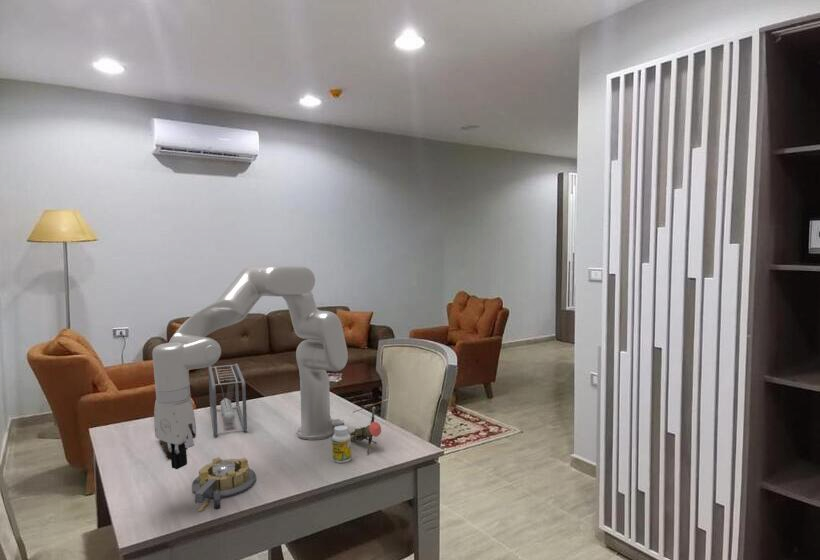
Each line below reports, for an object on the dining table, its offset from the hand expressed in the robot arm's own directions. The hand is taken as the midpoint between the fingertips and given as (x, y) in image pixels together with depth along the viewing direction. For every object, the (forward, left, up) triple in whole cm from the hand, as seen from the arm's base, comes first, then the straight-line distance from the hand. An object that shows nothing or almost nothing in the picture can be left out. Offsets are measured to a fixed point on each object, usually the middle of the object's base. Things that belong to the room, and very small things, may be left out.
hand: (179, 466), depth 127 cm
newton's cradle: (-5, -58, -10) cm, 59 cm away
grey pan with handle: (-8, -4, -8) cm, 12 cm away
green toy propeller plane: (-50, -25, -10) cm, 56 cm away
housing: (-9, -5, -9) cm, 14 cm away
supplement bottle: (-41, -15, -10) cm, 45 cm away
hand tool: (+11, -37, -10) cm, 40 cm away
